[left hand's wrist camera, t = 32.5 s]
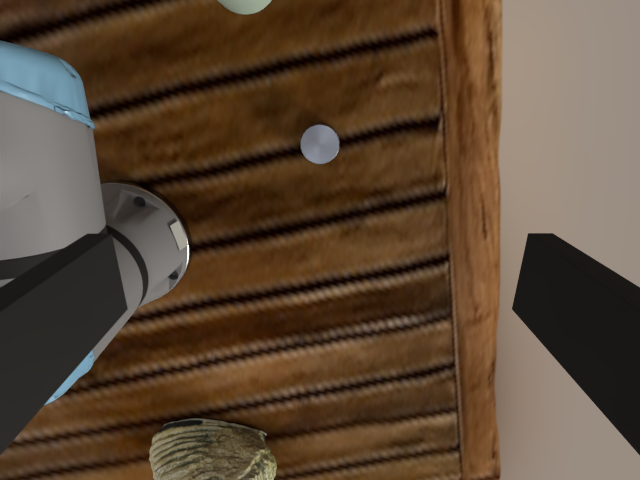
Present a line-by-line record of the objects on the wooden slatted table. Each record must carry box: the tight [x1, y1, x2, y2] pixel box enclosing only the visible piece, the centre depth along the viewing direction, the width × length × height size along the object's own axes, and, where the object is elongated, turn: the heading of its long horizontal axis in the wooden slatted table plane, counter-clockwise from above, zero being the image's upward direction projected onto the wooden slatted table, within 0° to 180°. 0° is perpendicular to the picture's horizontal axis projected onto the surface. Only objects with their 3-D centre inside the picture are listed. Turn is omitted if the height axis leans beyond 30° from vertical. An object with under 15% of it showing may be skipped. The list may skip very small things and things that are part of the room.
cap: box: [300, 122, 340, 164], centre depth 42 cm, size 4×4×2 cm
